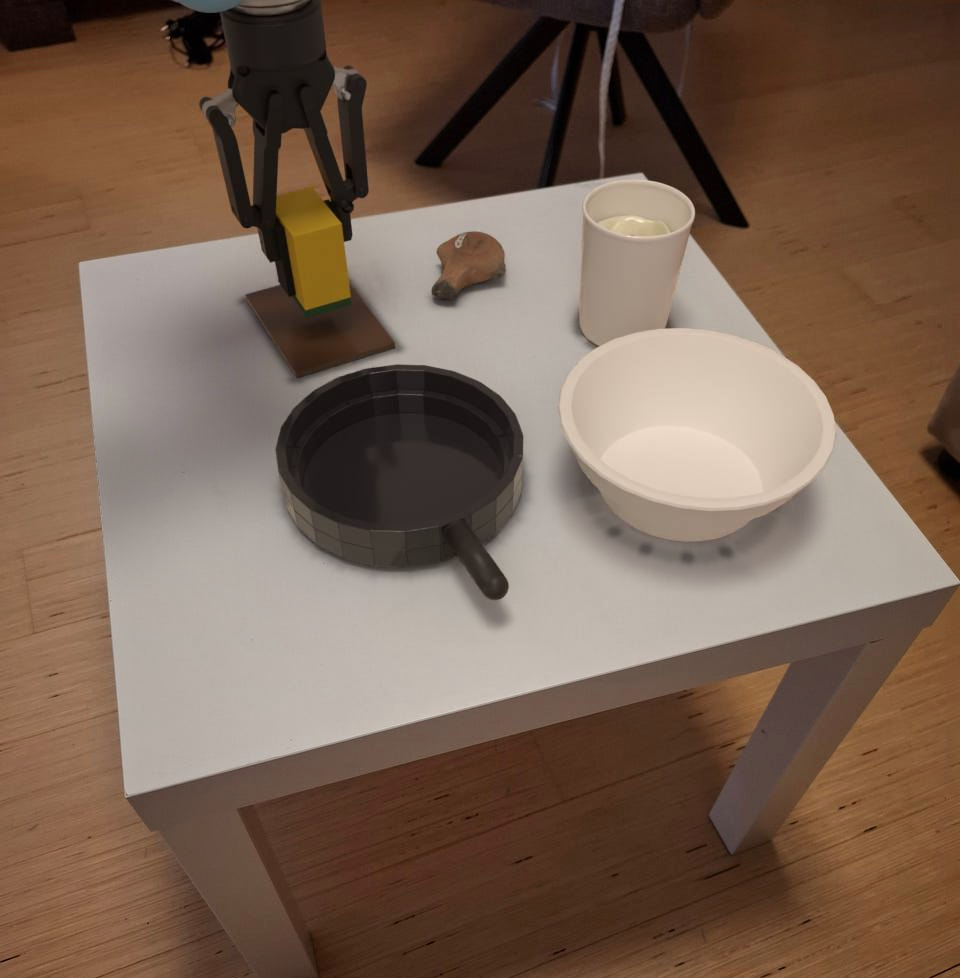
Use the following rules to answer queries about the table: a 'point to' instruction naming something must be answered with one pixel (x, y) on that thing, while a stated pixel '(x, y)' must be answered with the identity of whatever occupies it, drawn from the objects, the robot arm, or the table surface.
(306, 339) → the brown flat slab
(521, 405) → the table surface
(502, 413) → the pan
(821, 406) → the bowl
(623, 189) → the candle holder
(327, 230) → the sponge
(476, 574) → the pan handle
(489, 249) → the oil lamp
